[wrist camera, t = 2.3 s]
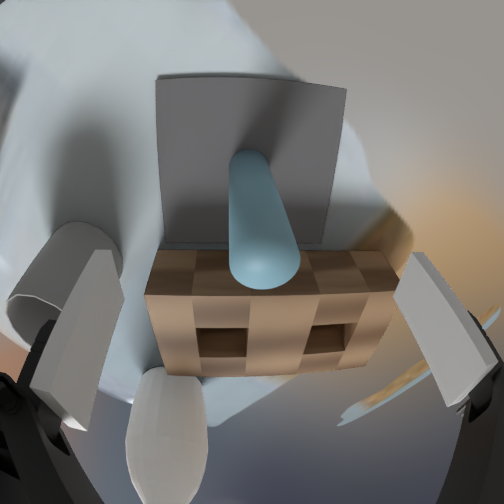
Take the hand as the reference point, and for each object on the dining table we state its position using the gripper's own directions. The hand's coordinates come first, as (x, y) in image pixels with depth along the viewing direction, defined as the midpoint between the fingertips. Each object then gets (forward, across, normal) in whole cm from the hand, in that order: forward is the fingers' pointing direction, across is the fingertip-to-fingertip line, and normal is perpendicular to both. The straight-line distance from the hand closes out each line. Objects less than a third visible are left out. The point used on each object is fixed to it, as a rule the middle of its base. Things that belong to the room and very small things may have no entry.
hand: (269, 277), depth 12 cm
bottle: (+13, -10, -32) cm, 36 cm away
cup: (+13, -16, -8) cm, 23 cm away
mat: (+13, 0, 0) cm, 13 cm away
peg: (+12, 0, 0) cm, 13 cm away
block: (+13, +3, -14) cm, 19 cm away
